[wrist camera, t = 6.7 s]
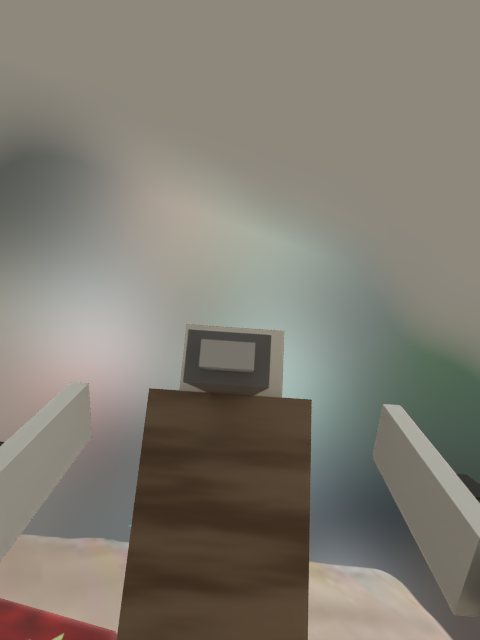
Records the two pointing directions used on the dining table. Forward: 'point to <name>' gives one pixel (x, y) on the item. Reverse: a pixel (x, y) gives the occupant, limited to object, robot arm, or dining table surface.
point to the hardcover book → (45, 625)
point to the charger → (233, 361)
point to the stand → (220, 520)
